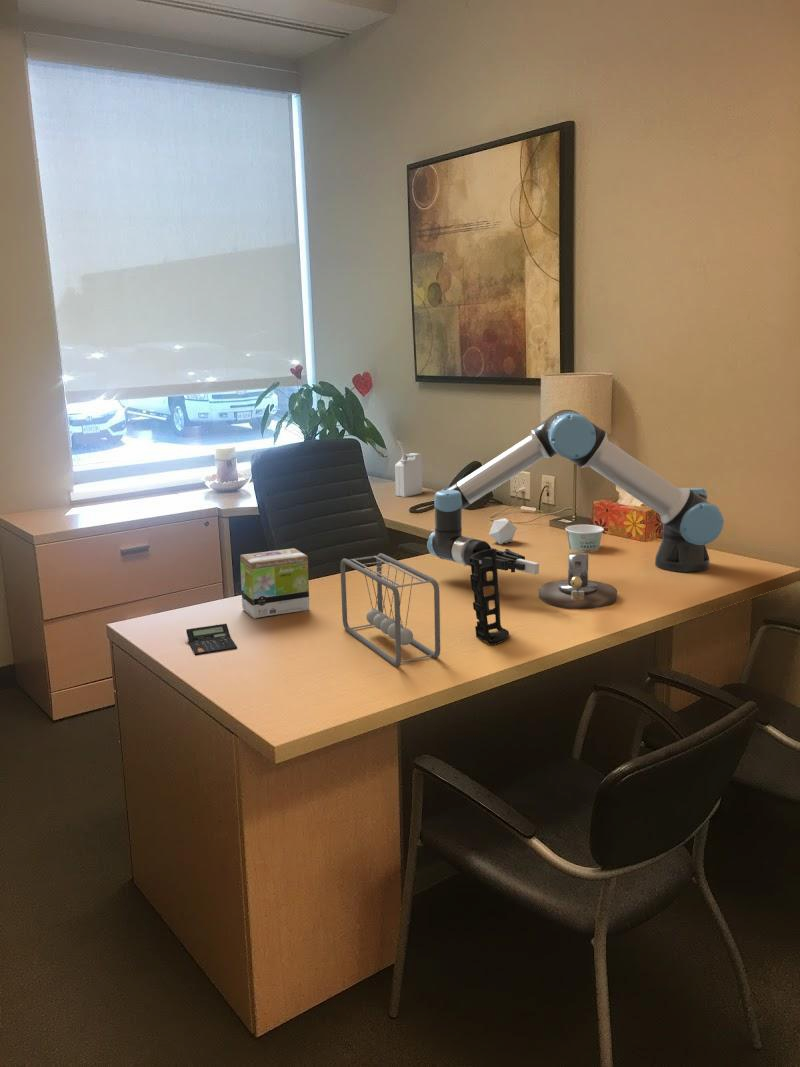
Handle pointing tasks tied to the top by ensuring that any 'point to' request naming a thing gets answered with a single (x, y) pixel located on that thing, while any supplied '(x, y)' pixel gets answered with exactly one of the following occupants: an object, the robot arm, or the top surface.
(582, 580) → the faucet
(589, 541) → the food container
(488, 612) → the holder
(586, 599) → the dial base
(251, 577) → the tea box
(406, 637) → the newton's cradle
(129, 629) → the top surface
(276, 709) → the top surface
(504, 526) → the die
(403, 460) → the gas can
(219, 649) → the calculator
